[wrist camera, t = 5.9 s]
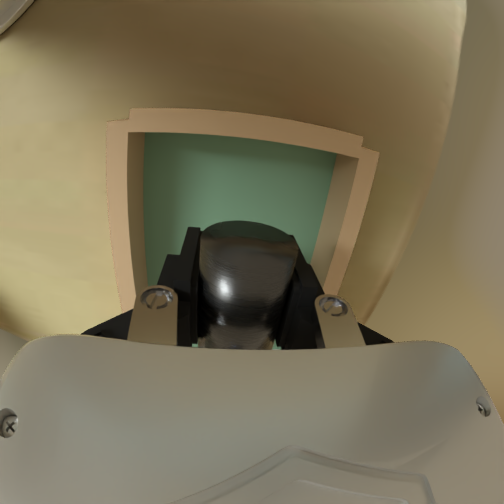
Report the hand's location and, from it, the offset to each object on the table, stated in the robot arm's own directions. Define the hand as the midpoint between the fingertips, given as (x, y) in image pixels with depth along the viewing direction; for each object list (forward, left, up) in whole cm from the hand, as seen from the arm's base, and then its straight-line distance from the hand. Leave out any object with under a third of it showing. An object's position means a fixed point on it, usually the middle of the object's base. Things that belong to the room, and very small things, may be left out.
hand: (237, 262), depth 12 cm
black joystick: (+3, 0, -5) cm, 6 cm away
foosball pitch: (+7, 0, -7) cm, 10 cm away
